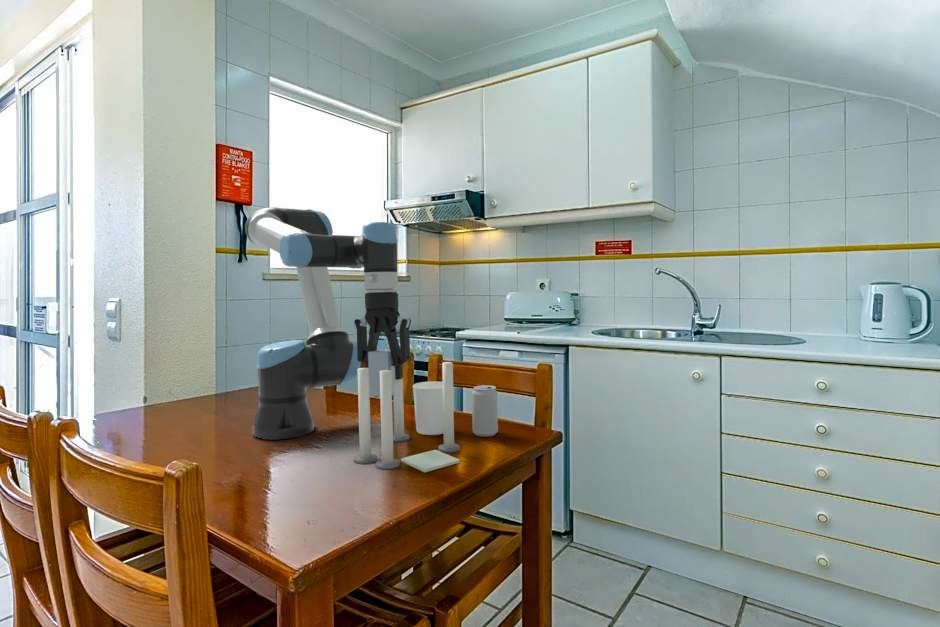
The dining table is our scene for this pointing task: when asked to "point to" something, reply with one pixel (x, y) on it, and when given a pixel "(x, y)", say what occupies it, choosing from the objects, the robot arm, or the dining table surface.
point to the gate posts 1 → (364, 418)
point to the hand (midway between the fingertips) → (384, 392)
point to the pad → (430, 460)
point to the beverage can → (484, 410)
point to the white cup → (429, 407)
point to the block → (378, 368)
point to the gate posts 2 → (387, 421)
